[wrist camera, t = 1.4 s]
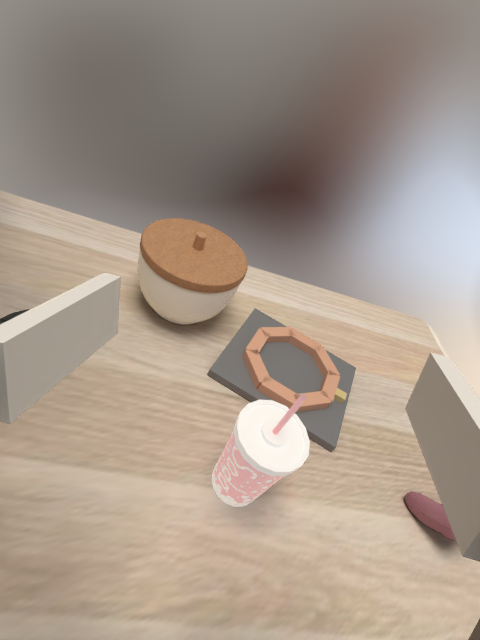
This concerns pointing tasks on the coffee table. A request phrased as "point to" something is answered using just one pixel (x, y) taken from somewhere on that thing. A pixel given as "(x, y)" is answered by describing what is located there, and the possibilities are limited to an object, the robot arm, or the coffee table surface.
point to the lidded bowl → (188, 270)
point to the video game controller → (429, 513)
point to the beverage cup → (260, 451)
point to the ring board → (287, 374)
